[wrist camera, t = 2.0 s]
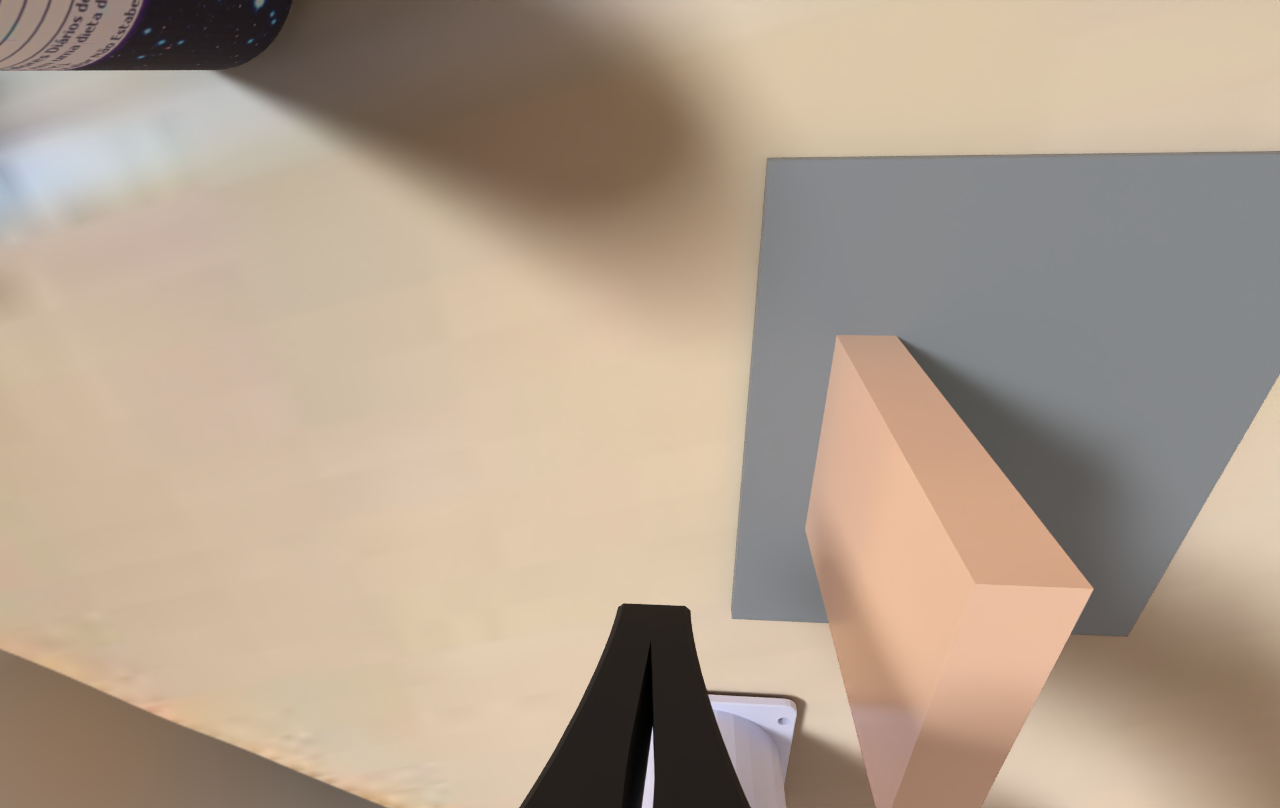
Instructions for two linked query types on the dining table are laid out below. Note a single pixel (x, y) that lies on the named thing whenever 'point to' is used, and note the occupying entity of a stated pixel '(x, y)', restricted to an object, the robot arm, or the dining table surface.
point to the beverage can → (136, 33)
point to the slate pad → (1021, 341)
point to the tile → (929, 581)
